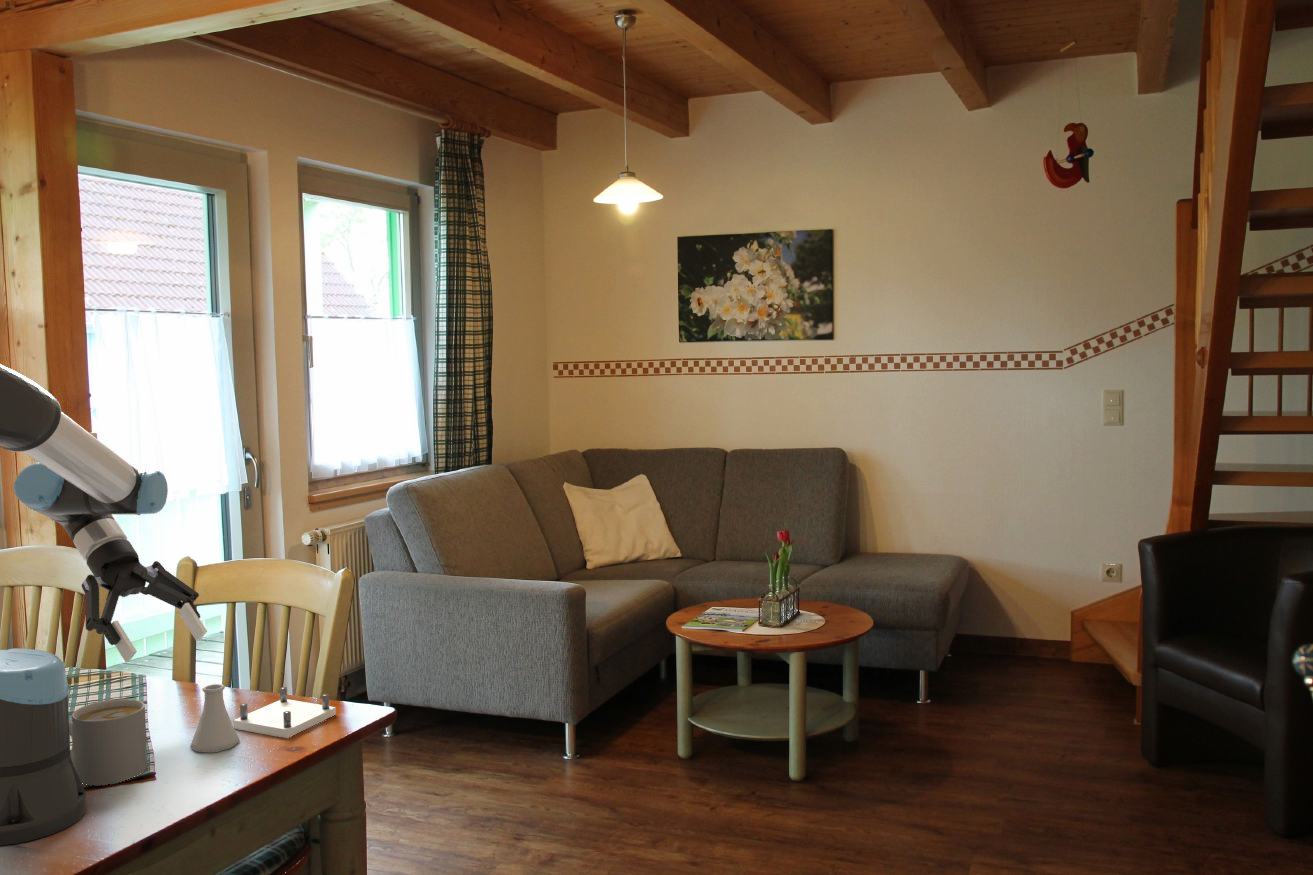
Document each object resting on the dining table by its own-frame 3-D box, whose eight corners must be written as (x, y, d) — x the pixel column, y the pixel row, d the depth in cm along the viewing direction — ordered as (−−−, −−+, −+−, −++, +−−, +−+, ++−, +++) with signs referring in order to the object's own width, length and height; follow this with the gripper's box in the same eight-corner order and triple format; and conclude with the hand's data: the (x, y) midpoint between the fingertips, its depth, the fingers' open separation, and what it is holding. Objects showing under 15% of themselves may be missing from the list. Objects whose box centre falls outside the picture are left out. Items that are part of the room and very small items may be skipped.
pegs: (287, 728, 172) (287, 713, 172) (238, 719, 176) (238, 705, 176) (330, 707, 182) (330, 694, 182) (283, 699, 186) (283, 686, 186)
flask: (181, 749, 167) (179, 690, 166) (217, 734, 173) (215, 677, 173) (213, 756, 164) (211, 696, 163) (248, 741, 170) (246, 683, 169)
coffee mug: (160, 760, 162) (157, 699, 161) (123, 786, 152) (120, 721, 151) (80, 757, 163) (77, 697, 162) (38, 783, 153) (34, 719, 152)
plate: (288, 738, 172) (287, 729, 171) (233, 728, 176) (233, 719, 176) (335, 715, 183) (335, 707, 182) (283, 706, 187) (283, 698, 187)
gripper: (160, 551, 191) (219, 640, 185) (27, 578, 168) (88, 680, 163) (178, 526, 188) (238, 615, 182) (45, 549, 166) (108, 652, 160)
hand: (168, 646), depth 172 cm, fingers open, 13 cm apart
